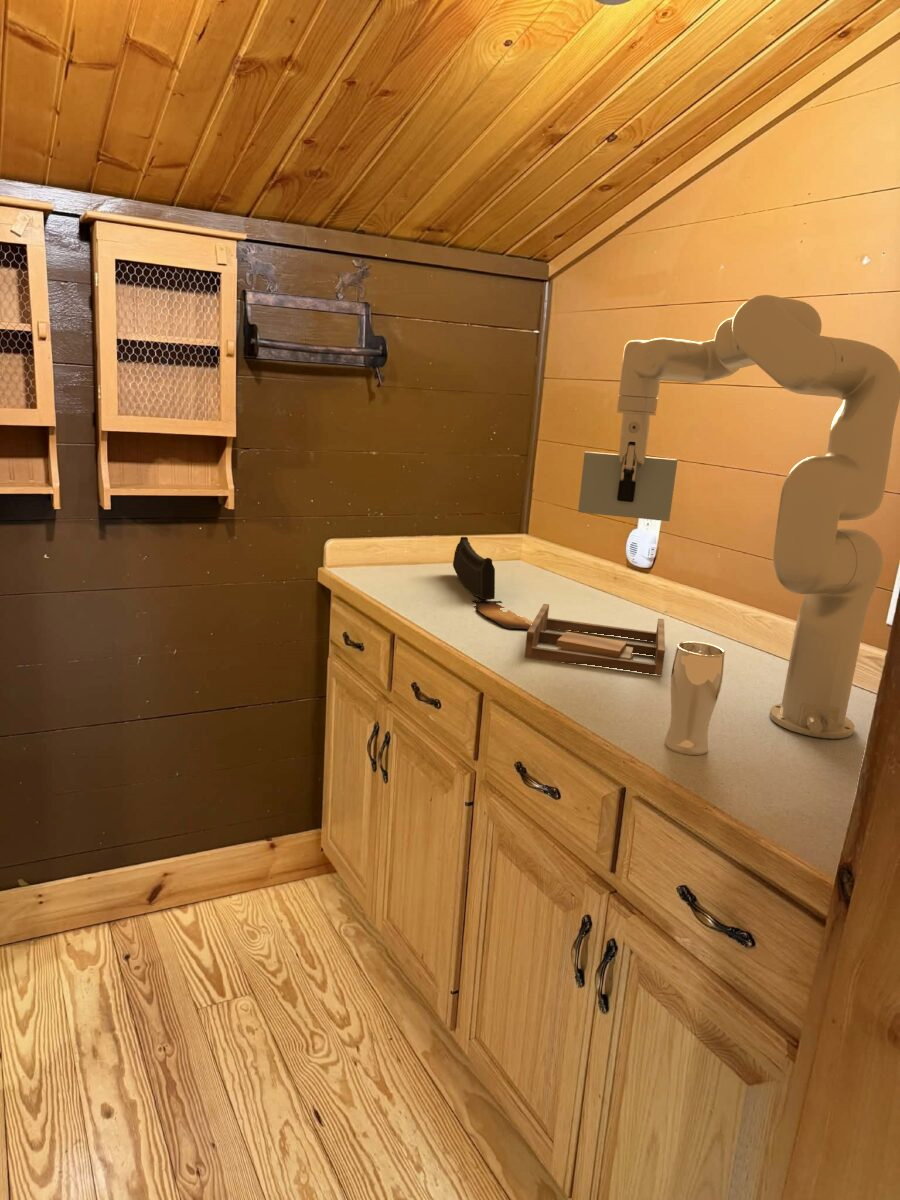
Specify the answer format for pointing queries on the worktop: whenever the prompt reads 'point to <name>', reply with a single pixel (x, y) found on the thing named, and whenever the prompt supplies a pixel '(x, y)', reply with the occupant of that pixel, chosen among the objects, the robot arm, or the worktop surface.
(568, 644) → the offcut stack
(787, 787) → the worktop surface
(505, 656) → the worktop surface
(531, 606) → the worktop surface
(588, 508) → the tall board
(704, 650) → the beer glass
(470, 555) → the magazine
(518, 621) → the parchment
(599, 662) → the rack
